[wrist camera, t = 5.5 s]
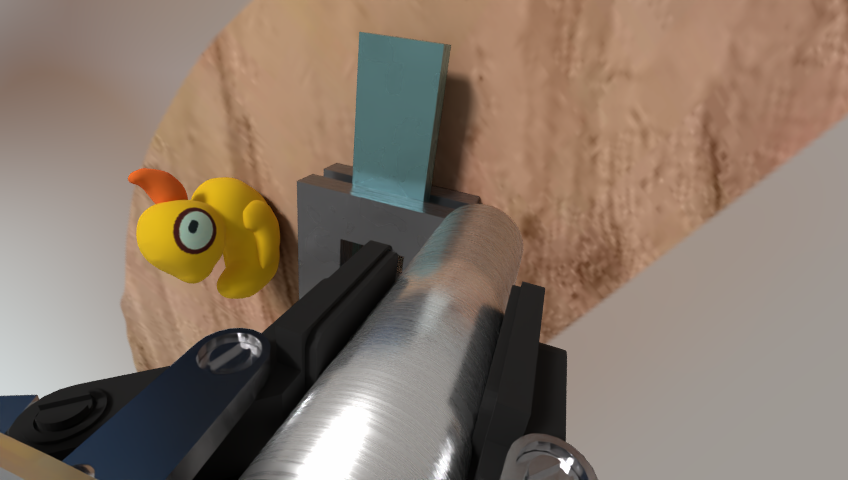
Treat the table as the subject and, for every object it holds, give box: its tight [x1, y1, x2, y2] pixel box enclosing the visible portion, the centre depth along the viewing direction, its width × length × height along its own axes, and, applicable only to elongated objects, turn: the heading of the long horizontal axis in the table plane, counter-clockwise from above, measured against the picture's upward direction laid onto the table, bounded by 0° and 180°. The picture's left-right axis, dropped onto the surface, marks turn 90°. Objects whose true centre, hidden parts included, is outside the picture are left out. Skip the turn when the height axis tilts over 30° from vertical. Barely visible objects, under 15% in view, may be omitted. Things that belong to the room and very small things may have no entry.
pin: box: [238, 204, 523, 480], centre depth 9 cm, size 4×4×12 cm
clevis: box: [297, 32, 480, 300], centre depth 28 cm, size 22×11×5 cm, turn 172°
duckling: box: [128, 168, 280, 299], centre depth 30 cm, size 11×5×10 cm, turn 16°
